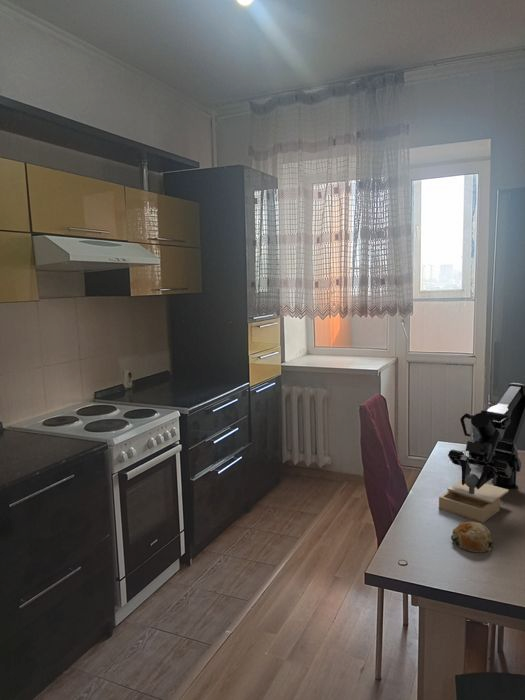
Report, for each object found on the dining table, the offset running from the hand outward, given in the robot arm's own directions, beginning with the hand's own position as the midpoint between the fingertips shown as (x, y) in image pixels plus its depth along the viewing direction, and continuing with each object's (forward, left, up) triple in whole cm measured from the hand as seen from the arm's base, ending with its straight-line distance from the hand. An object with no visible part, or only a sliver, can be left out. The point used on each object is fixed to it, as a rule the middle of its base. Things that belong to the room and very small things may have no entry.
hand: (469, 486), depth 162 cm
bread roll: (+9, +21, -8) cm, 24 cm away
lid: (-4, -4, -3) cm, 7 cm away
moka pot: (-25, -44, -8) cm, 51 cm away
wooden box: (0, 0, -8) cm, 8 cm away
